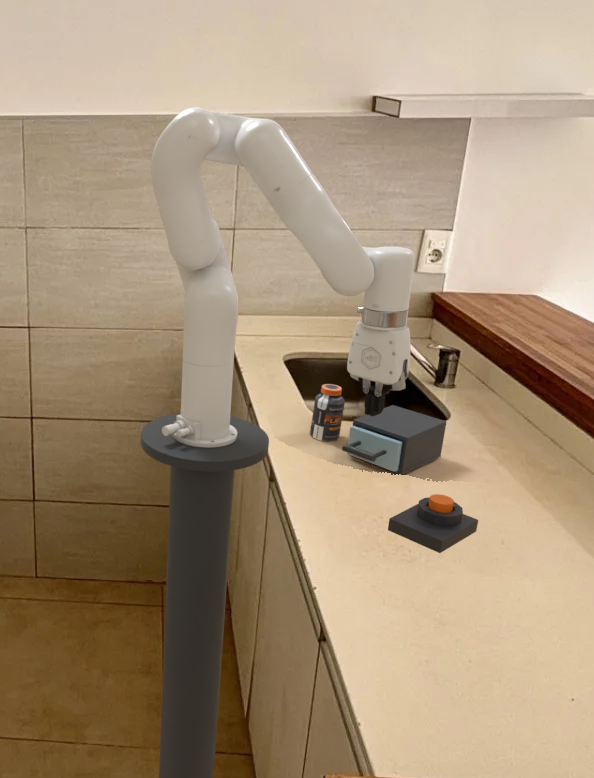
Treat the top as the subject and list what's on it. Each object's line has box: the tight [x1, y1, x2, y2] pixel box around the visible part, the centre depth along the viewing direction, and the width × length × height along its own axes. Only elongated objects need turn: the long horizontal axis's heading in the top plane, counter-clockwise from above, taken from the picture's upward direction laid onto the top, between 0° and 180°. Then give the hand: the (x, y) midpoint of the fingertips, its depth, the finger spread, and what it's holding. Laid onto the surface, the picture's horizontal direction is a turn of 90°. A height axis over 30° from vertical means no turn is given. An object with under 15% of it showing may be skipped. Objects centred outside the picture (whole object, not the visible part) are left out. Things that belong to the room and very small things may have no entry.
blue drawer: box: [341, 425, 403, 473], centre depth 148 cm, size 17×10×6 cm, turn 127°
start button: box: [428, 493, 455, 513], centre depth 124 cm, size 4×4×2 cm
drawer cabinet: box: [352, 404, 448, 476], centre depth 151 cm, size 14×12×8 cm
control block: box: [387, 496, 479, 554], centre depth 124 cm, size 11×9×4 cm
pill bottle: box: [309, 383, 346, 442], centre depth 160 cm, size 6×6×11 cm
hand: (373, 413), depth 142 cm, fingers closed
